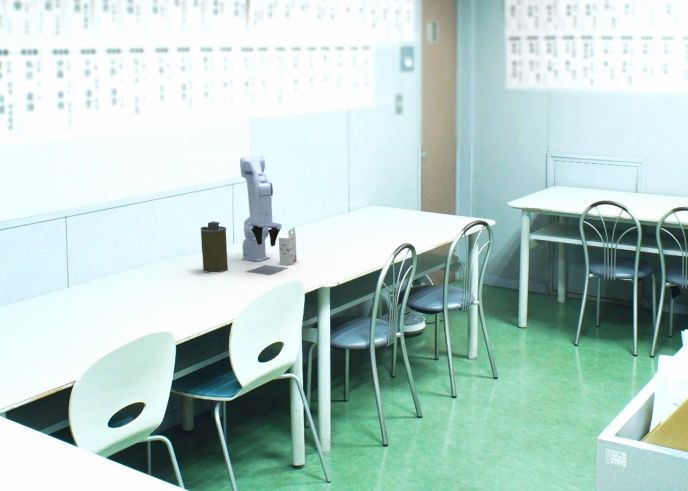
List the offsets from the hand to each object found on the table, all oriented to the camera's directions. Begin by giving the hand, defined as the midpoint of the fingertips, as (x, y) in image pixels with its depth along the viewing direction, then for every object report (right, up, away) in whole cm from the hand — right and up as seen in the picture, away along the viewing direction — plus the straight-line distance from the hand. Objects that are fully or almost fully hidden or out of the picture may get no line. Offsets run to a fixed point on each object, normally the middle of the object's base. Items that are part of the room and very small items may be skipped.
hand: (266, 245), depth 403 cm
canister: (-22, -10, +5) cm, 24 cm away
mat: (0, -10, +2) cm, 10 cm away
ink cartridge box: (+8, -8, +15) cm, 18 cm away
